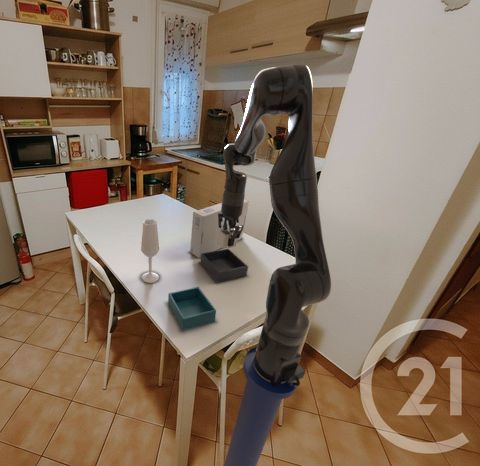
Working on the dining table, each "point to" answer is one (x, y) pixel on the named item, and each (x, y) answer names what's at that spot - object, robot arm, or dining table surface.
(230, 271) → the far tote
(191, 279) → the dining table surface
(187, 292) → the near tote
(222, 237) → the white box with panel
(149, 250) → the champagne flute
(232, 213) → the robot arm
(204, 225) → the packaging
